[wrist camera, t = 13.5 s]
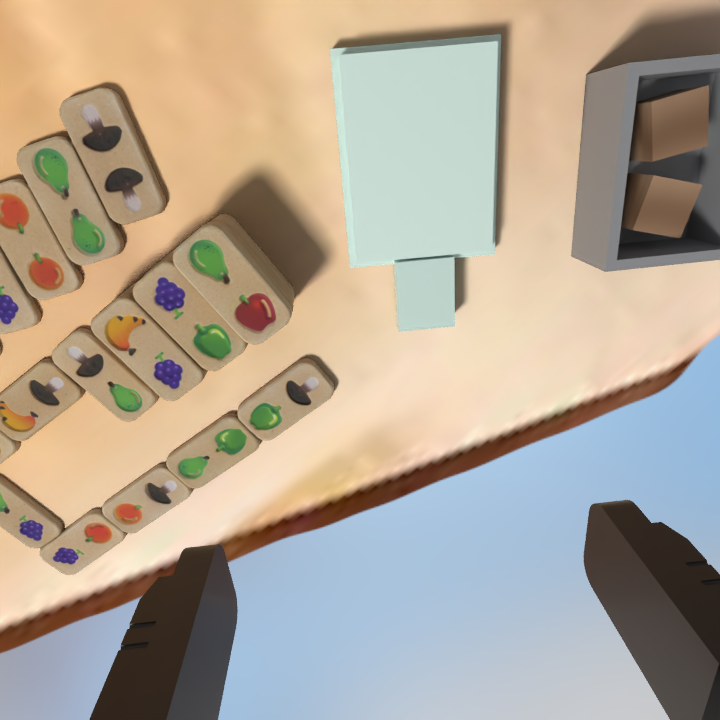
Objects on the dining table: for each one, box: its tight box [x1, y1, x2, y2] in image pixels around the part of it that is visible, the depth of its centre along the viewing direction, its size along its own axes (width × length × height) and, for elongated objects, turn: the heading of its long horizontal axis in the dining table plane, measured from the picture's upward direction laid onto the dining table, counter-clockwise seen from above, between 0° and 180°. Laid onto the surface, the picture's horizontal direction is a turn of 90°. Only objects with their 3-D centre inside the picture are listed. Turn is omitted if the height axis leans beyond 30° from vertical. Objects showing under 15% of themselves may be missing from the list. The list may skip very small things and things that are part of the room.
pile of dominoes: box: [0, 88, 334, 575], centre depth 37 cm, size 35×27×6 cm
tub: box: [571, 54, 720, 272], centre depth 32 cm, size 12×9×5 cm
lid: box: [330, 34, 501, 332], centre depth 34 cm, size 18×11×2 cm, turn 5°
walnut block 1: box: [629, 85, 709, 162], centre depth 32 cm, size 4×4×3 cm
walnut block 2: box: [621, 173, 702, 238], centre depth 34 cm, size 4×4×3 cm
